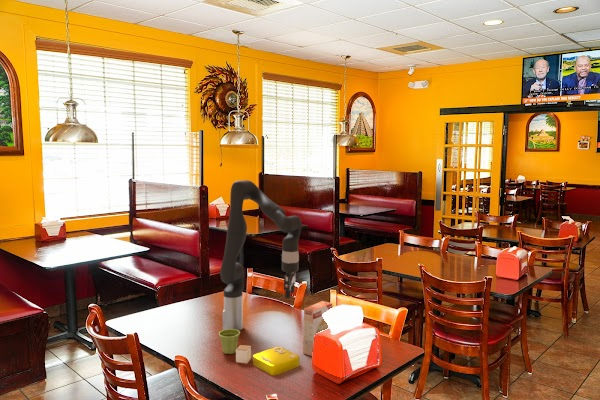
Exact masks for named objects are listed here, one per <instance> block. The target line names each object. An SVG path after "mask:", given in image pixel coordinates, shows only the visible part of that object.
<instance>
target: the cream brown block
mask: <svg viewBox="0 0 600 400" xmlns="http://www.w3.org/2000/svg"><path fill="white" fill-rule="evenodd" d="M251 347H252V346H251V345H245V344H240V345H239V346H237V349H236V352H235V362H236V363H237V364H238V363H241V364H248V363H249V362H250V361H251V360H252V348H251Z"/></svg>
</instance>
